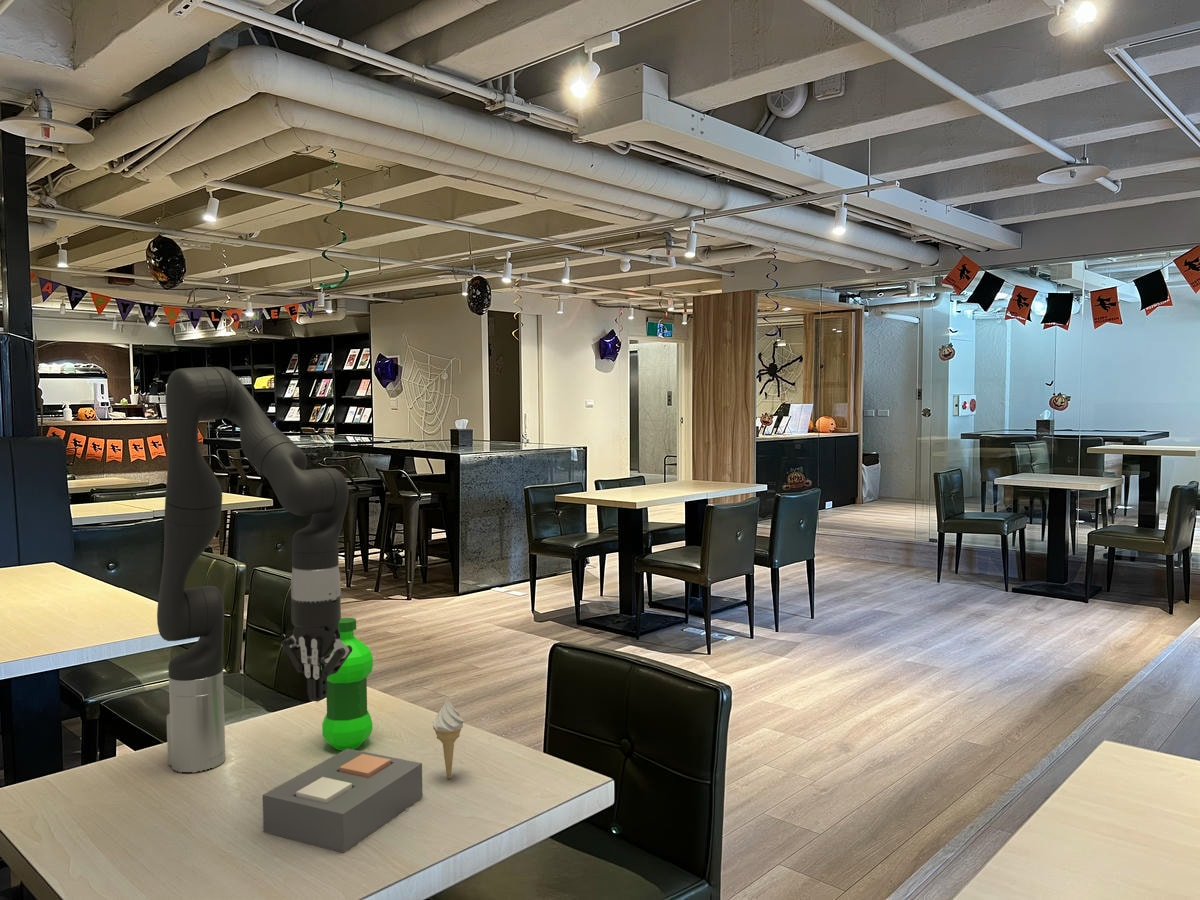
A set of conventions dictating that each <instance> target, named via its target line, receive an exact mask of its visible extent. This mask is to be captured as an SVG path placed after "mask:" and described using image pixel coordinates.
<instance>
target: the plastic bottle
mask: <svg viewBox="0 0 1200 900" xmlns="http://www.w3.org/2000/svg"><path fill="white" fill-rule="evenodd" d="M338 629H339V632H340V635H341V637H340V640H341V641H342V642H343V644H344V645H345V646H348V645H350V646H351V647H352V652H351V653H350V655H349V656H348V658H347V659H346V660H345V662H344V663H343V665H342V666H341V668H340V669H339V670H338V672H337V673H335V674H332V675H330V676H328V677H327V695H326V715H325V716H324V718H323V721H322V729H321V730H322V737H323V739H324V741H325V742H326V743H327V744H328V745H330V746H331V747H333V748H334V749H335V750H338V751H340V752H342V751H344V750H346V749H347V748H348V749H353V750H357V749H358V748H359V747H361V746H362V744H364V742H365V741H367V739H368V738H369V737H370V736H371V734H372V731H373V720H372V717H371V714H370V712H369V710H368V688H367V686H368V684H367V680H368V678H367V677H368V676H369V675H370V674H371V673H372V671H373V667H374V659H373V654H372V651H371V648H370V647H369V646H367V644H365V643H363V641H361V640H360V639H358V637H356V636H355V634H354V632H355V631H356V630H357V618H355V617H341V619H340V621H339V624H338ZM332 652H333V651H332ZM332 656H333V655H332ZM321 669H322V666H321Z"/></svg>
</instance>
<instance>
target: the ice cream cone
mask: <svg viewBox="0 0 1200 900" xmlns="http://www.w3.org/2000/svg"><path fill="white" fill-rule="evenodd" d="M431 723H432V729H433V730H434V732H435V734H436V739H438V740H439V741H440V742H441V743H442V750H443V756H444V764H445V770H446V772H445V774H446V777H447V779H448V780H450V779H451V778H452V772H453V759H454V749H455V748H454V747H455V743H456V740H457V739H458V738H459V737H460V736H461V735H460V734H461V730H462V728H463V727H464V723H465V722H464V718H462V717H461V715H460V713H459V712H458V710H457V708H455V707H454V705H453V704H452V702H451V701H450V699H449V697H448V696H447V698H446V699H445V702H444V704H443V706H441V709H440V710H439V712H438V713H437V715H436V716H435V717H434V718H433V720H432V722H431Z"/></svg>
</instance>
